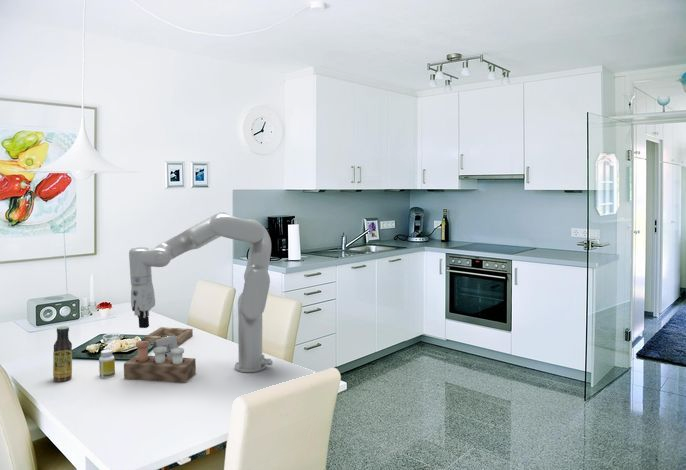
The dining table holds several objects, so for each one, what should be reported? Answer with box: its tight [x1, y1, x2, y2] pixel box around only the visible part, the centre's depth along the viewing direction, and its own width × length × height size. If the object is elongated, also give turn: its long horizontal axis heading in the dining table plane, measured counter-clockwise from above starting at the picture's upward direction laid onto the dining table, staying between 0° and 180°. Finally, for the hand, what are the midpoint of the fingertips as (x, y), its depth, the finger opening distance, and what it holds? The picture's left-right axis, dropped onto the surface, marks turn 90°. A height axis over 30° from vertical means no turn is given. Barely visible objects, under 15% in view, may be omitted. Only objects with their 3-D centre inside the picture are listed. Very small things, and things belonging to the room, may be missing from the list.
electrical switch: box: [153, 336, 179, 357], centre depth 221 cm, size 9×5×9 cm, turn 141°
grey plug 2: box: [171, 347, 185, 364], centre depth 200 cm, size 5×5×10 cm
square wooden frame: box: [144, 326, 194, 347], centre depth 245 cm, size 16×16×4 cm
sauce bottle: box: [52, 325, 73, 383], centre depth 195 cm, size 7×6×20 cm
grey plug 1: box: [152, 347, 167, 363], centre depth 200 cm, size 5×5×10 cm
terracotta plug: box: [135, 340, 150, 362], centre depth 201 cm, size 5×5×10 cm
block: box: [123, 354, 197, 384], centre depth 201 cm, size 24×10×6 cm, turn 83°
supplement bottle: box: [98, 348, 116, 379], centre depth 200 cm, size 5×5×10 cm
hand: (144, 327), depth 200 cm, fingers closed
